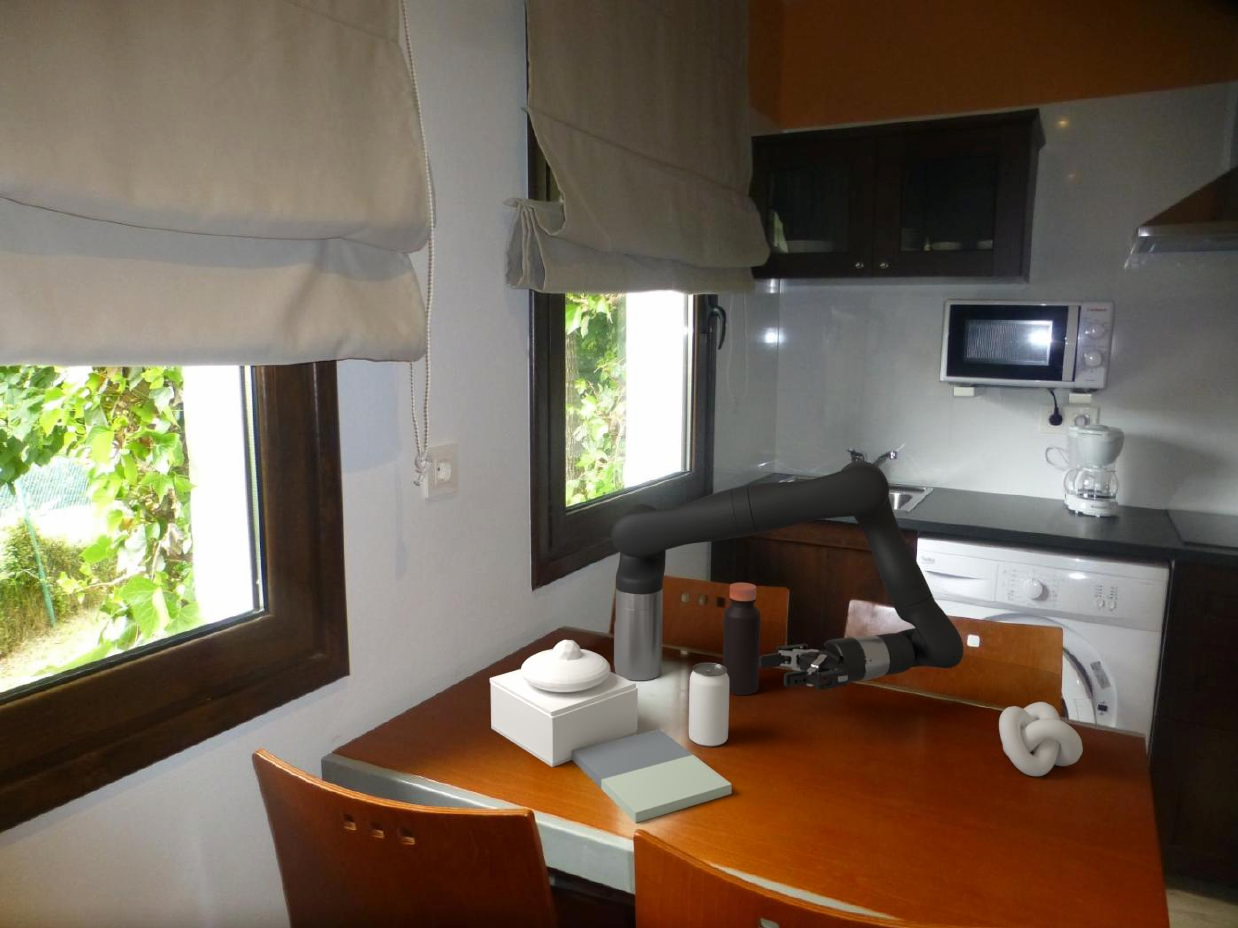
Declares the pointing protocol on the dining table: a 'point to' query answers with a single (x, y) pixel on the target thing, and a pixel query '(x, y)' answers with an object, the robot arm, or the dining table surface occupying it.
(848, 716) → the dining table surface
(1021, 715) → the white decorative knot
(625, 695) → the white lidded box
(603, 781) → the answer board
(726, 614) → the bottle
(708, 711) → the can
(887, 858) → the dining table surface
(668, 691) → the dining table surface
